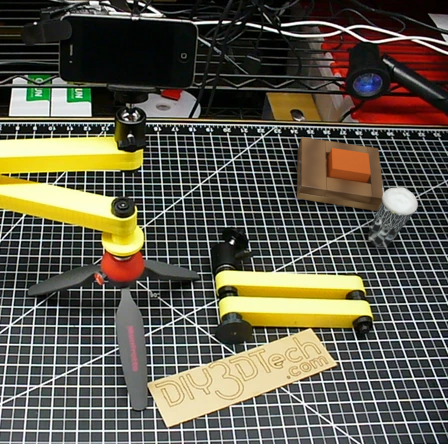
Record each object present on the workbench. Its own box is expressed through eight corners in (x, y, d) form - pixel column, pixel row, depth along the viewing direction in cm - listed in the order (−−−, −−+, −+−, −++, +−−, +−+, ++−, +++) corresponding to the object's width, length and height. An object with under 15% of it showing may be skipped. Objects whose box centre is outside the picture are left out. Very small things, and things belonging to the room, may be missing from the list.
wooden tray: (372, 161, 93) (378, 148, 91) (377, 211, 86) (384, 198, 84) (297, 149, 94) (301, 136, 92) (296, 198, 87) (301, 185, 85)
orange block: (362, 167, 90) (368, 153, 88) (364, 188, 87) (370, 174, 85) (326, 161, 91) (331, 147, 88) (326, 182, 88) (332, 168, 85)
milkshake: (362, 219, 85) (387, 171, 77) (398, 235, 83) (427, 187, 76) (352, 240, 82) (377, 191, 75) (389, 256, 81) (418, 209, 73)
